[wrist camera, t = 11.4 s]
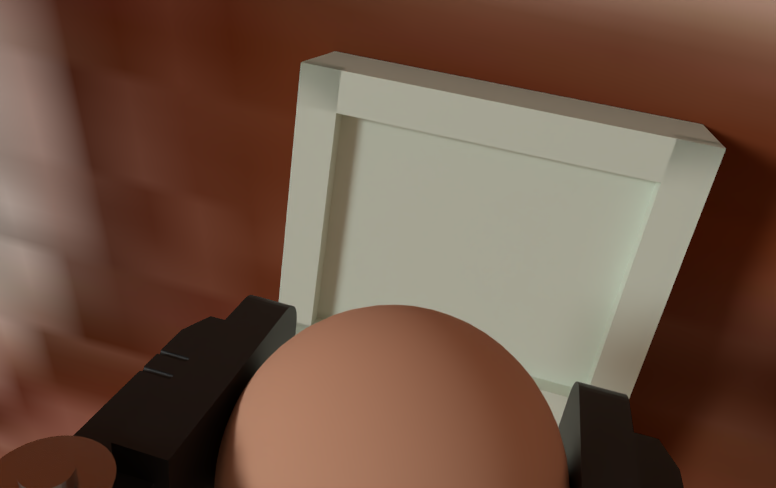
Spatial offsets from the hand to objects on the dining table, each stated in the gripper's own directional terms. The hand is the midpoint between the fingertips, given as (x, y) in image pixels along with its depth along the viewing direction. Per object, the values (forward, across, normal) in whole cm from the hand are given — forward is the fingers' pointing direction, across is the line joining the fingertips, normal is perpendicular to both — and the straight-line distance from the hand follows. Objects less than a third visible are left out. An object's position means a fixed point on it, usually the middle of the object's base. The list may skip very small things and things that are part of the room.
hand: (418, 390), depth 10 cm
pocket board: (+8, 0, +4) cm, 10 cm away
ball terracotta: (0, 0, 0) cm, 0 cm away
